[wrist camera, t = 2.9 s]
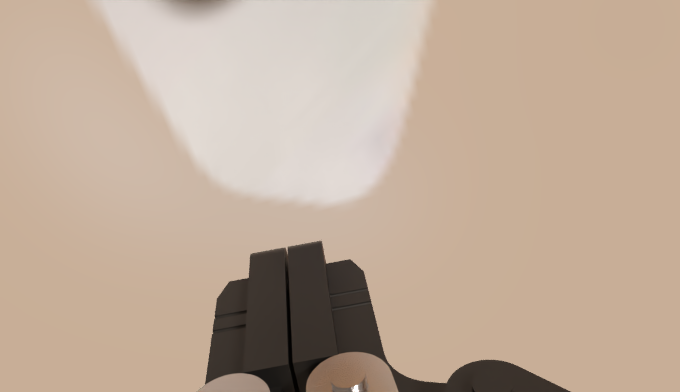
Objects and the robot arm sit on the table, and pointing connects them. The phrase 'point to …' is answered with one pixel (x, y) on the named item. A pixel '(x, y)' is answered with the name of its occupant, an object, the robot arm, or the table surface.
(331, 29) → the table surface
